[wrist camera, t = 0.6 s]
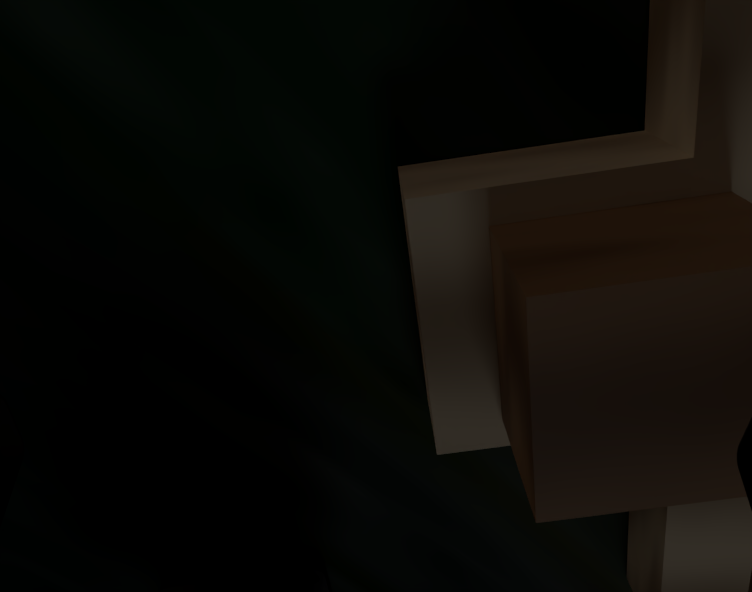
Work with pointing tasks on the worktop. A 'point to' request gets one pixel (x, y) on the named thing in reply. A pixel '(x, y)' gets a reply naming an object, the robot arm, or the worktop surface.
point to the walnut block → (626, 353)
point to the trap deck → (578, 195)
